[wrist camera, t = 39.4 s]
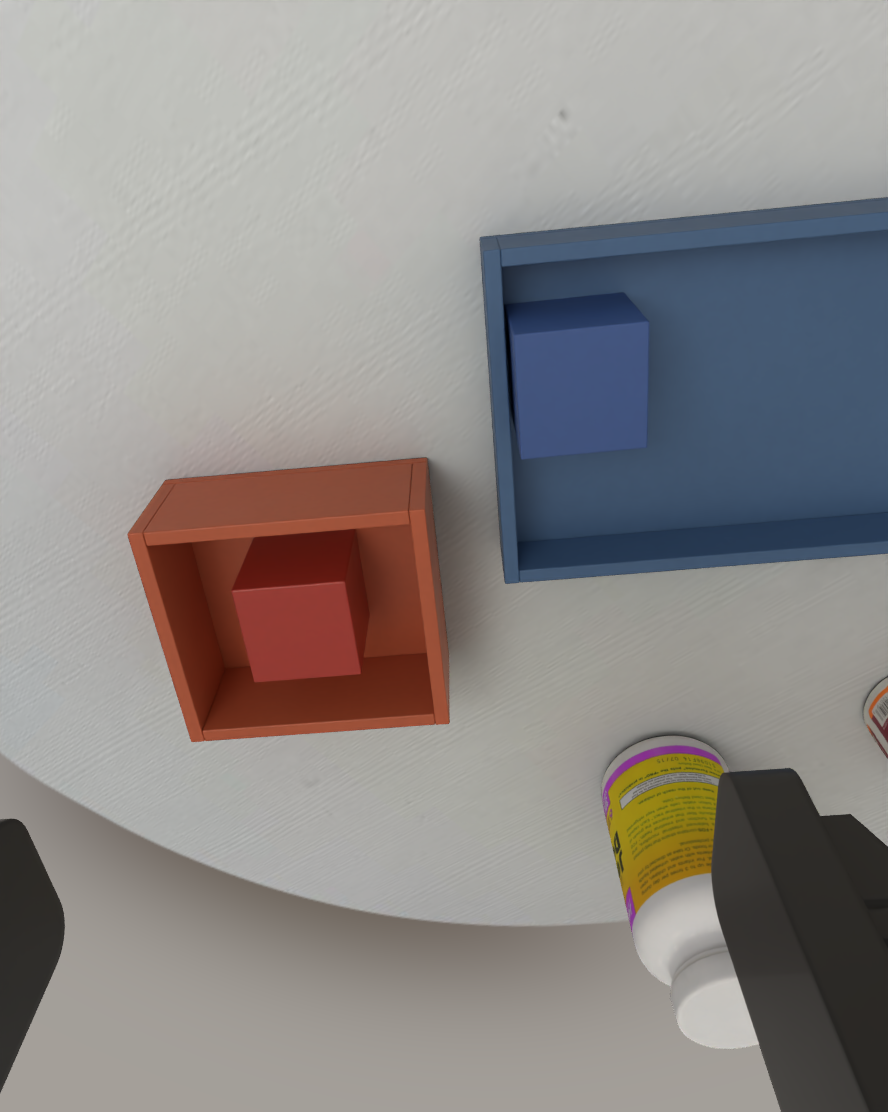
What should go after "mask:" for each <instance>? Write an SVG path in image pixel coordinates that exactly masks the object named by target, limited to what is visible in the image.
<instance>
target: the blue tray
mask: <svg viewBox="0 0 888 1112" xmlns="http://www.w3.org/2000/svg"><path fill="white" fill-rule="evenodd" d="M480 251H481V266H482V281H483V295H484V310H485V325H486V339H487V354H488V368H489V383H490V398H491V412H492V427H493V442H494V456H495V471H496V486H497V500H498V515H499V530H500V544H501V555H502V563H503V571H504V579H505V583H506V584H509V583H519V581H520V582H533V581H546V580H558V579H571V578H584V577H596V576H609V575H622V574H634V573H647V572H660V571H672V570H685V569H698V568H710V567H723V566H736V565H748V564H761V563H774V562H786V561H799V560H812V559H824V558H837V557H850V556H862V555H875V554H888V197H886V198H876V199H866V200H855V201H845V202H835V203H825V204H814V205H804V206H794V207H784V208H773V209H763V210H753V211H743V212H732V213H722V214H712V215H701V216H691V217H681V218H671V219H660V220H650V221H640V222H630V223H619V224H609V225H599V226H589V227H578V228H568V229H558V230H548V231H537V232H527V233H517V234H507V235H496V236H486V237H480ZM621 292H624V293H625V294H626V295H627V296H628V297H629V299H630V300H631V301H632V302H633V303H634V304H635V306H636V307H637V308H638V309H639V310H640V311H641V313H642V314H643V315H644V316H645V317H646V318H647V320H648V321H649V323H650V331H649V391H648V446H647V448H641V449H630V450H620V451H609V452H598V453H587V454H577V455H566V456H555V457H545V458H534V459H521V457H520V453H519V448H518V443H517V438H516V433H515V428H514V423H513V418H512V408H511V392H510V377H509V362H508V346H507V331H506V315H505V305H506V304H514V303H523V302H533V301H543V300H553V299H562V298H572V297H582V296H592V295H601V294H611V293H621Z"/></svg>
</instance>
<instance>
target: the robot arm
mask: <svg viewBox="0 0 888 1112" xmlns="http://www.w3.org/2000/svg"><path fill="white" fill-rule="evenodd" d="M711 877H712V889H713V896H714V902H715V907H716V912H717V916H718V920H719V923H720V926H721V930H722V933H723V936H724V939H725V942H726V945H727V948H728V951H729V954H730V957H731V960H732V963H733V966H734V969H735V972H736V975H737V978H738V981H739V985H740V988H741V991H742V994H743V997H744V1000H745V1003H746V1006H747V1009H748V1012H749V1015H750V1018H751V1021H752V1024H753V1027H754V1030H755V1033H756V1036H757V1039H758V1042H759V1045H760V1049H761V1051H762V1054H763V1058H764V1061H765V1064H766V1067H767V1070H768V1073H769V1076H770V1079H771V1082H772V1085H773V1088H774V1091H775V1094H776V1097H777V1100H778V1103H779V1106H780V1109H781V1112H888V846H886V845H885V844H884V843H883V842H882V841H881V840H880V839H878V838H877V837H876V836H875V835H874V834H873V833H872V832H870V831H869V830H868V829H867V828H866V827H865V826H864V825H863V824H861V823H860V822H859V821H858V820H857V819H856V818H855V817H853V816H852V815H851V814H846V815H830V816H820V815H819V813H818V811H817V809H816V807H815V806H814V804H813V802H812V800H811V798H810V796H809V794H808V792H807V790H806V788H805V786H804V784H803V782H802V780H801V779H800V777H799V775H798V774H797V773H796V772H795V771H794V770H793V769H791V768H785V769H770V770H755V771H741V772H726V773H722V774H721V776H720V779H719V784H718V794H717V805H716V817H715V828H714V839H713V851H712V862H711ZM64 929H65V924H64V912H63V908H62V905H61V902H60V900H59V898H58V895H57V893H56V891H55V889H54V887H53V885H52V882H51V881H50V878H49V876H48V874H47V872H46V869H45V867H44V865H43V863H42V861H41V859H40V856H39V854H38V852H37V850H36V848H35V846H34V844H33V841H32V839H31V837H30V835H29V833H28V831H27V829H26V827H25V826H24V825H23V823H22V822H20V821H19V820H17V819H1V820H0V1092H1V1090H2V1088H3V1085H4V1083H5V1081H6V1079H7V1077H8V1074H9V1072H10V1070H11V1067H12V1065H13V1063H14V1061H15V1058H16V1056H17V1054H18V1051H19V1049H20V1047H21V1045H22V1042H23V1040H24V1038H25V1036H26V1033H27V1031H28V1029H29V1027H30V1024H31V1022H32V1020H33V1017H34V1015H35V1013H36V1010H37V1008H38V1006H39V1004H40V1001H41V999H42V997H43V995H44V992H45V990H46V988H47V986H48V983H49V981H50V979H51V977H52V974H53V972H54V970H55V967H56V965H57V963H58V960H59V957H60V954H61V950H62V946H63V940H64Z"/></svg>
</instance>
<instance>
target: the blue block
mask: <svg viewBox="0 0 888 1112" xmlns="http://www.w3.org/2000/svg"><path fill="white" fill-rule="evenodd" d="M505 315H506V331H507V346H508V362H509V377H510V392H511V408H512V418H513V423H514V428H515V433H516V438H517V443H518V448H519V453H520V457H521V459H534V458H545V457H555V456H566V455H577V454H587V453H598V452H609V451H620V450H630V449H641V448H647V446H648V391H649V331H650V323H649V321H648V320H647V318H646V317H645V316H644V315H643V314H642V313H641V311H640V310H639V309H638V308H637V307H636V306H635V304H634V303H633V302H632V301H631V300H630V299H629V297H628V296H627V295H626V294H625V293H624V292H621V293H611V294H601V295H592V296H582V297H572V298H562V299H553V300H543V301H533V302H523V303H514V304H506V305H505Z"/></svg>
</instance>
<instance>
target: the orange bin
mask: <svg viewBox="0 0 888 1112" xmlns="http://www.w3.org/2000/svg"><path fill="white" fill-rule="evenodd" d="M348 529H355V530H356V534H357V540H358V546H359V553H360V559H361V565H362V571H363V577H364V583H365V589H366V595H367V601H368V607H369V613H370V616H369V623H368V630H367V638H366V645H365V652H364V659H363V666H362V673H361V674H357V675H345V676H332V677H319V678H306V679H293V680H280V681H267V682H254V679H253V675H252V671H251V667H250V664H249V660H248V656H247V652H246V648H245V644H244V640H243V636H242V632H241V628H240V624H239V621H238V617H237V613H236V609H235V605H234V601H233V597H232V593H231V590H232V588H233V585H234V583H235V580H236V578H237V576H238V573H239V571H240V568H241V566H242V564H243V561H244V559H245V557H246V554H247V552H248V549H249V547H250V545H251V542H252V540H253V538H254V537H264V536H275V535H287V534H299V533H311V532H323V531H336V530H348ZM128 538H129V542H130V545H131V548H132V551H133V555H134V558H135V561H136V564H137V567H138V571H139V574H140V577H141V580H142V584H143V587H144V590H145V593H146V597H147V600H148V603H149V606H150V610H151V613H152V616H153V619H154V622H155V626H156V629H157V632H158V635H159V639H160V642H161V645H162V648H163V652H164V655H165V658H166V661H167V664H168V668H169V671H170V674H171V677H172V681H173V684H174V687H175V690H176V694H177V697H178V700H179V703H180V707H181V710H182V713H183V716H184V719H185V723H186V726H187V729H188V732H189V736H190V739H191V742H200V741H212V740H226V739H240V738H254V737H268V736H282V735H296V734H310V733H324V732H338V731H352V730H366V729H379V728H393V727H407V726H421V725H434V724H435V723H436V725H438V724H449V722H450V719H449V651H448V642H447V632H446V623H445V614H444V605H443V596H442V587H441V578H440V569H439V559H438V550H437V541H436V532H435V523H434V514H433V505H432V496H431V486H430V477H429V468H428V459H427V458H416V459H404V460H392V461H381V462H369V463H358V464H346V465H334V466H323V467H311V468H299V469H288V470H276V471H265V472H253V473H241V474H230V475H218V476H206V477H195V478H183V479H171V480H165V481H164V483H163V484H162V486H161V487H160V488H159V490H158V491H157V493H156V494H155V496H154V497H153V498H152V500H151V501H150V503H149V504H148V505H147V507H146V508H145V510H144V511H143V513H142V514H141V515H140V517H139V518H138V520H137V521H136V523H135V524H134V525H133V527H132V528H131V530H130V531H129V532H128Z"/></svg>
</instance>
